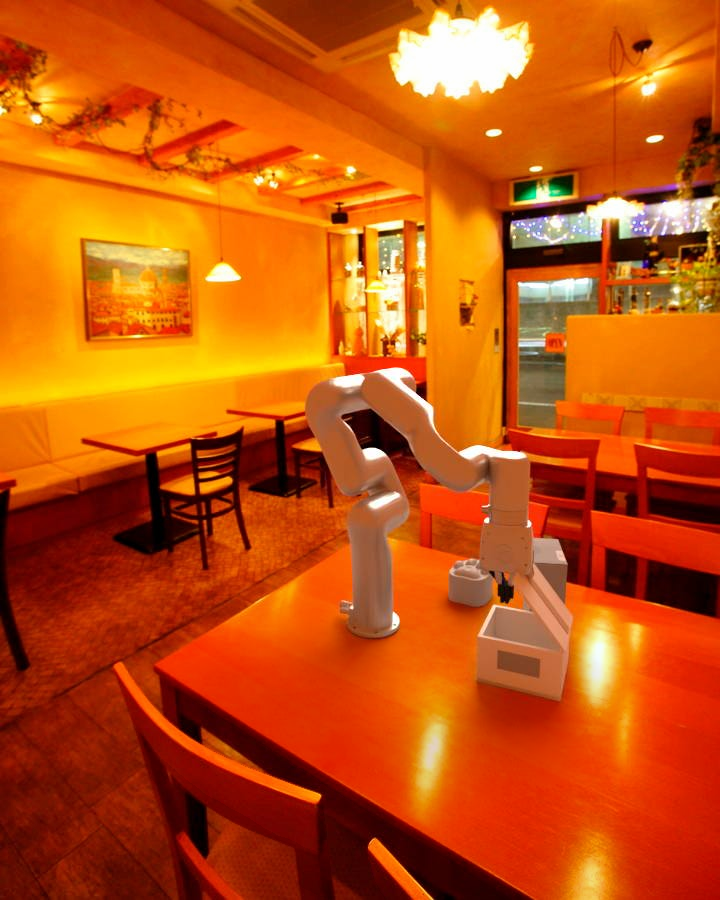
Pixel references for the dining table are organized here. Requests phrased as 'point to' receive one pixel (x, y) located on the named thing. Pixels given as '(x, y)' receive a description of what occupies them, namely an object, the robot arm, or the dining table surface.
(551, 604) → the lid flap
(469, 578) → the lumpy-topped squat cylinder
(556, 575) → the hard drive box
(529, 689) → the carton
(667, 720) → the dining table surface
